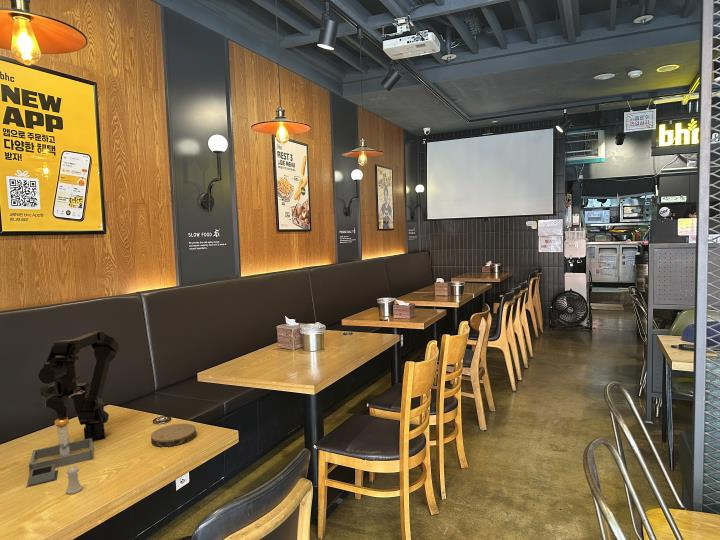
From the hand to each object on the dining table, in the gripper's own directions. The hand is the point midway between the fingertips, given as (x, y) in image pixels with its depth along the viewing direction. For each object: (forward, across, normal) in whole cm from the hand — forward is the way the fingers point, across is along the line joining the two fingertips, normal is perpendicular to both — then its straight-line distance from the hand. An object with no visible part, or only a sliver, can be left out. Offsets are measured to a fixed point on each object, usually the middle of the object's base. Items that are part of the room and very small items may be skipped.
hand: (70, 418), depth 171 cm
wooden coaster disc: (+14, -8, +33) cm, 37 cm away
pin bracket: (+13, +20, +2) cm, 24 cm away
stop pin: (+12, +8, +1) cm, 14 cm away
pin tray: (+13, +7, 0) cm, 15 cm away
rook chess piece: (+13, +30, +16) cm, 36 cm away
